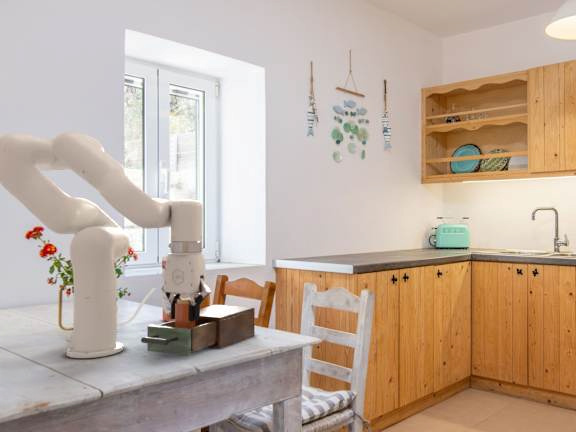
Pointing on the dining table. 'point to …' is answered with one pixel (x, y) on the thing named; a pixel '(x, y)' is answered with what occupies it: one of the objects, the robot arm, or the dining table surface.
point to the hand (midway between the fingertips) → (185, 318)
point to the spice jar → (183, 314)
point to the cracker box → (165, 300)
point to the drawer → (180, 337)
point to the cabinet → (230, 323)
